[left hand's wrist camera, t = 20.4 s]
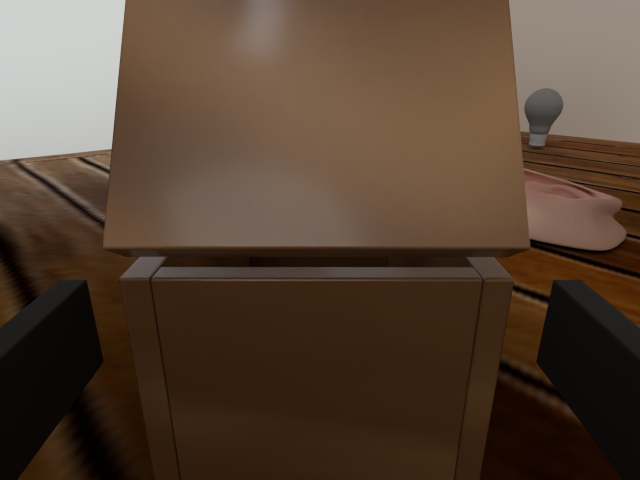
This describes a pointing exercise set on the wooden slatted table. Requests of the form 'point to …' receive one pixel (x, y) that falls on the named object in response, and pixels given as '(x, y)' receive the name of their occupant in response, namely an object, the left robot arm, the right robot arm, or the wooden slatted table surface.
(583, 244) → the anatomical model
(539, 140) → the light bulb
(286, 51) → the lid
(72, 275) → the wooden slatted table surface
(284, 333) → the chest
